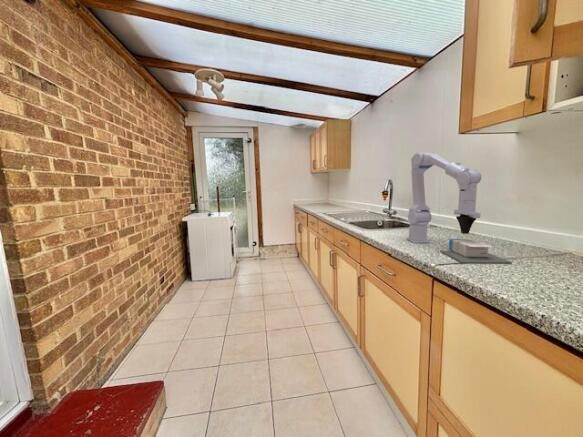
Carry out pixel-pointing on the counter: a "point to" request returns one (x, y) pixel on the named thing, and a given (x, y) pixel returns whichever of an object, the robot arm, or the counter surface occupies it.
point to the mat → (476, 259)
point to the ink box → (468, 247)
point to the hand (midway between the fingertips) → (464, 233)
